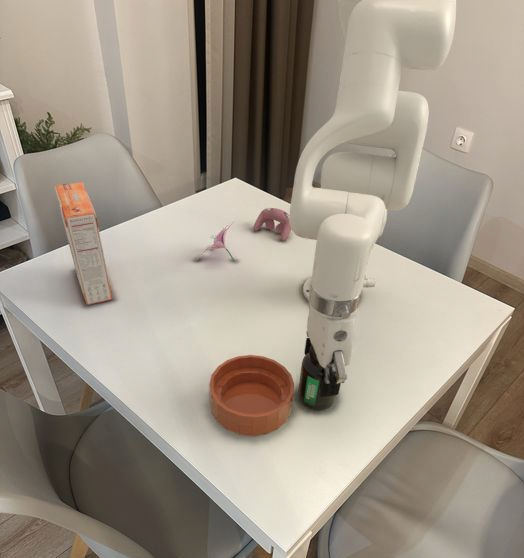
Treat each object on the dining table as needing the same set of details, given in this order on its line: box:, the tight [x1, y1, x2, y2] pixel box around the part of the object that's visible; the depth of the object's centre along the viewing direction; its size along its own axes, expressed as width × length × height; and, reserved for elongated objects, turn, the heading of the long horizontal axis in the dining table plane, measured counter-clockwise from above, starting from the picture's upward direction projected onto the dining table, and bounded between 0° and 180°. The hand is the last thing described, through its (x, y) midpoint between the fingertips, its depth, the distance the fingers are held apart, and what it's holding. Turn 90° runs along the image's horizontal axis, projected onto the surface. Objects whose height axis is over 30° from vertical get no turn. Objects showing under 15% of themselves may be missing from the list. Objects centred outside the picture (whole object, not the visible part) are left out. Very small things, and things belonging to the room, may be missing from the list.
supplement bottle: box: [297, 344, 337, 412], centre depth 88 cm, size 7×7×12 cm
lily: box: [196, 223, 236, 262], centre depth 122 cm, size 12×12×10 cm
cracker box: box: [54, 181, 114, 306], centre depth 107 cm, size 14×6×21 cm, turn 24°
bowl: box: [208, 354, 295, 437], centre depth 88 cm, size 14×14×6 cm
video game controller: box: [253, 207, 292, 242], centre depth 133 cm, size 10×5×7 cm, turn 58°
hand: (320, 373), depth 89 cm, fingers open, 9 cm apart
